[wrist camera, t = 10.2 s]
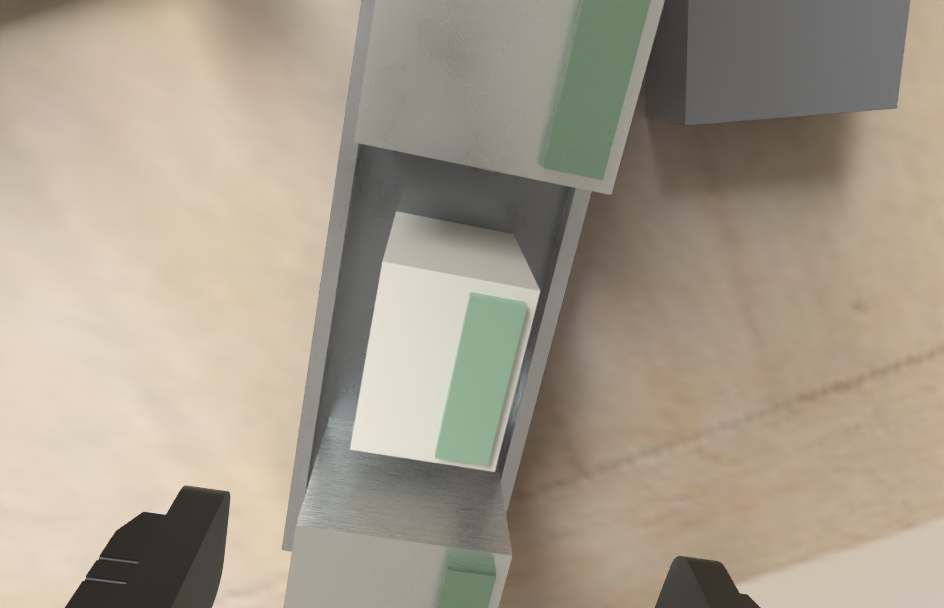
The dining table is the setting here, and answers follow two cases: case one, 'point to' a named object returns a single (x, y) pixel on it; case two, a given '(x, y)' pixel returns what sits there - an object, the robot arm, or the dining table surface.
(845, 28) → the block
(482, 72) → the rail board
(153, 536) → the robot arm
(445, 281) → the block
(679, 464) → the dining table surface
